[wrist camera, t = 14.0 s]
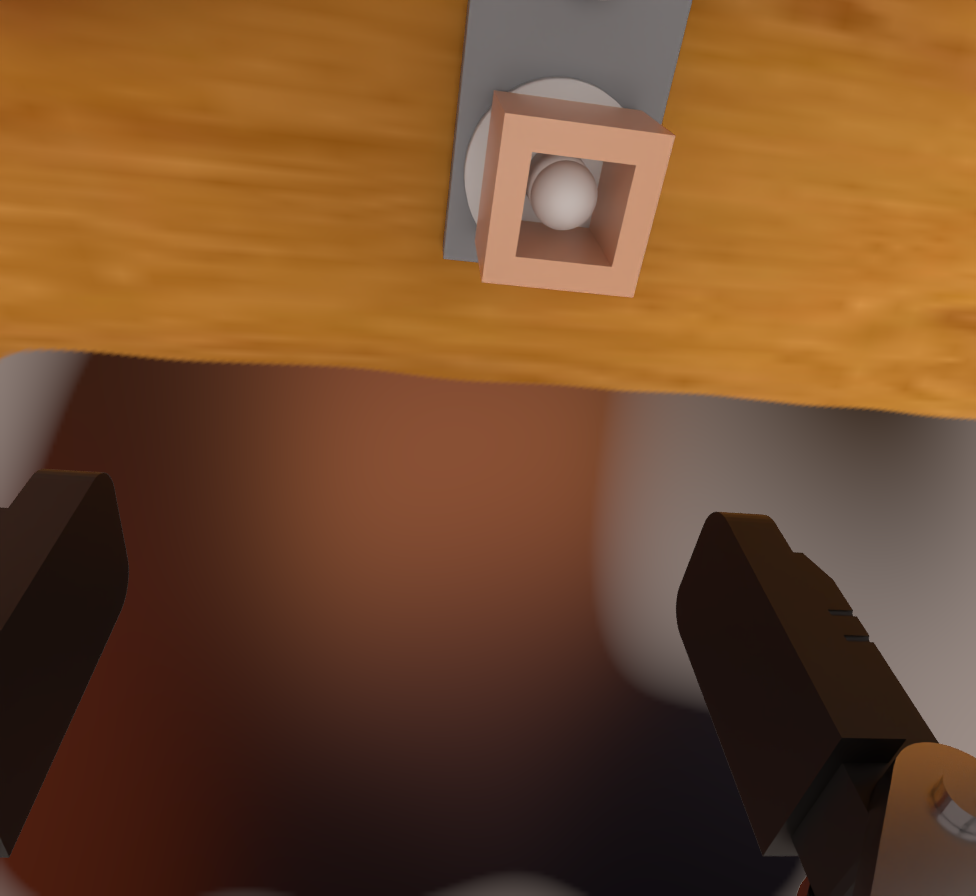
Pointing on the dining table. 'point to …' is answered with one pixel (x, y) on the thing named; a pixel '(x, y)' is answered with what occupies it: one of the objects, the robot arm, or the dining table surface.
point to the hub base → (555, 93)
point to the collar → (620, 204)
